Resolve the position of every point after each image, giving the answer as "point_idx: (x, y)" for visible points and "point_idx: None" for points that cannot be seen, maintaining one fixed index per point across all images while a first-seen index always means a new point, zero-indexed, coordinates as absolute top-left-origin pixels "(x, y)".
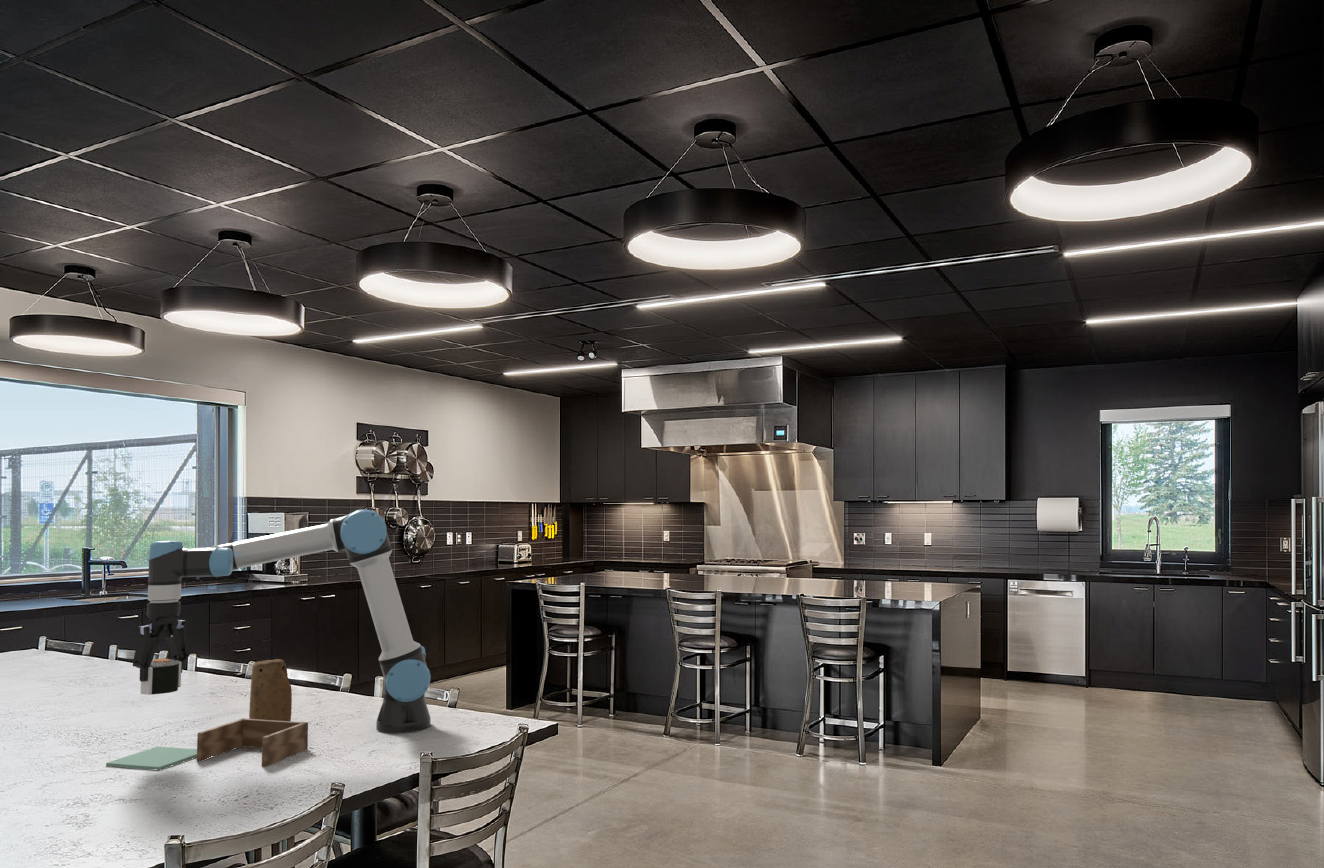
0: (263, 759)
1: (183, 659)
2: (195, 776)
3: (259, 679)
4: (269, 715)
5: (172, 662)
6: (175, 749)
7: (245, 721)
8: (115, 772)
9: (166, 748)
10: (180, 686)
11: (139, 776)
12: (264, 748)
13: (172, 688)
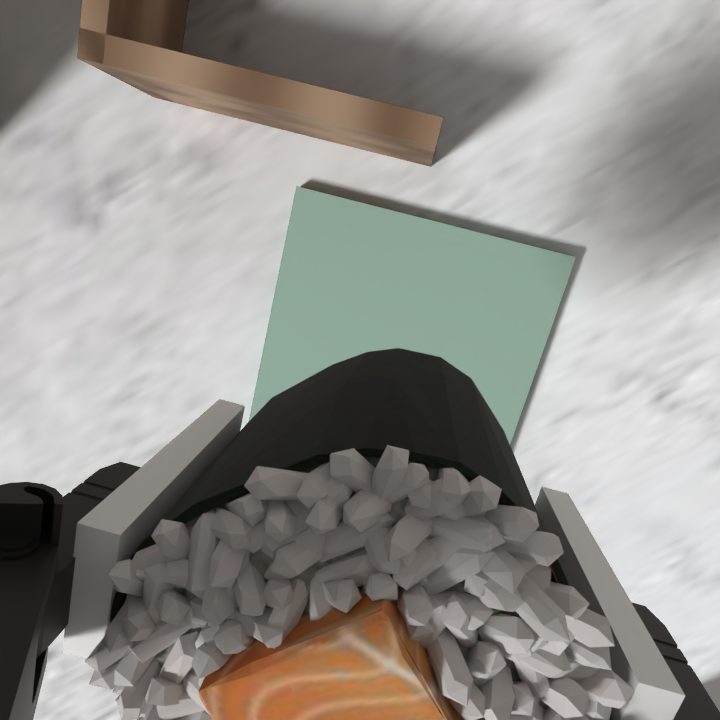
0: None
1: (43, 515)
2: (691, 24)
3: None
4: None
5: (314, 560)
6: (287, 342)
7: (113, 19)
8: (576, 422)
9: (274, 388)
10: (221, 400)
11: (652, 294)
12: None
13: (443, 366)
